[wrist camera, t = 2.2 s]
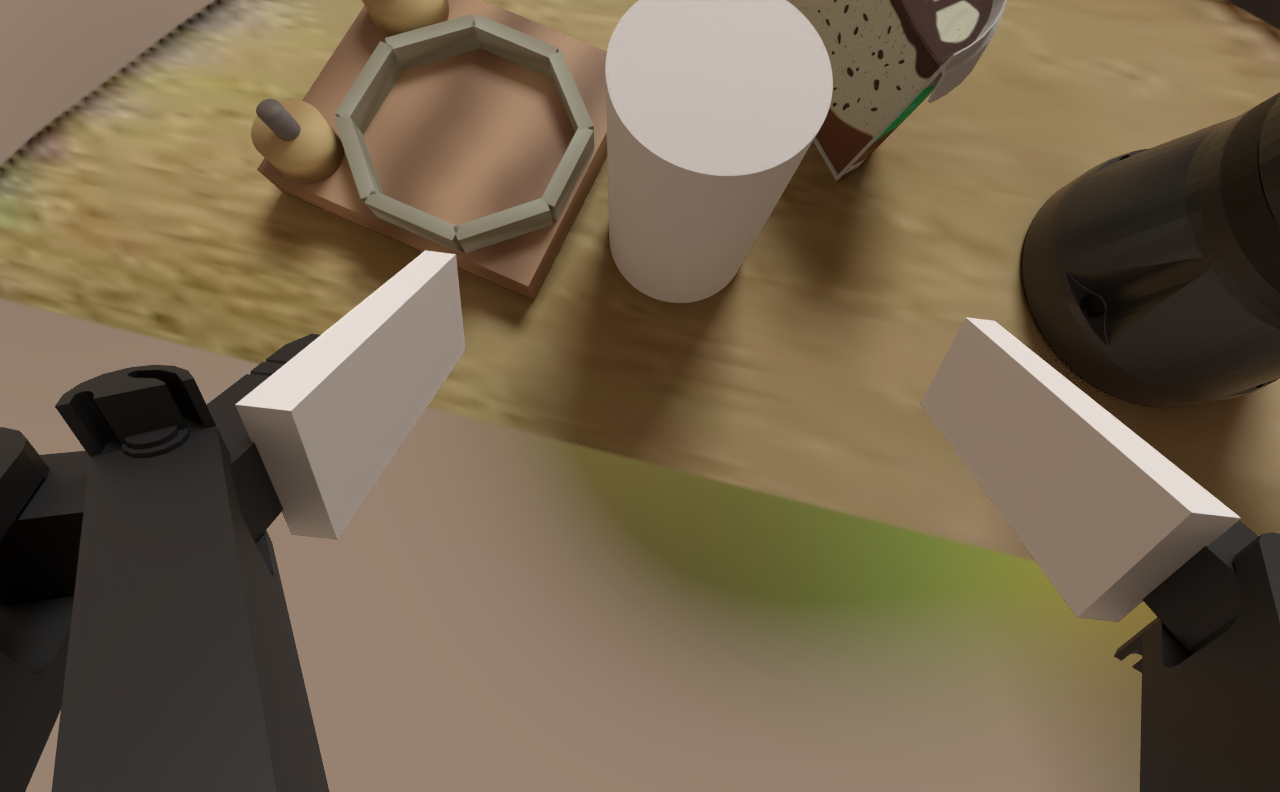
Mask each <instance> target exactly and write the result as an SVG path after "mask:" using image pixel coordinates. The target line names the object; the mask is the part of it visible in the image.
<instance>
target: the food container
mask: <svg viewBox="0 0 1280 792" xmlns="http://www.w3.org/2000/svg"><path fill="white" fill-rule="evenodd" d="M787 1H788V2H790V3H791V4H792V5H793V6H794V7H796V8H797V9H798V10H799V11H800V12H801V13H802V14H803V15H804V16H805V17H806V18H807V19H808V20H809V22H810V23H811V24H812V25H813V27H814V28H815V30H816V31H817V33H818V34H819V36H820V38H821V39H822V41H823V44H824V46H825V48H826V51H827V53H828V56H829V60H830V63H831V68H832V76H833V91H832V99H831V103H830V107H829V110H828V113H827V116H826V118H825V120H824V123H823V124H822V126H821V128H820V130H819V131H818V133H817V135H816V137H815V138H814V140H813V142H814V144H815V145H816V147H817V149H818V150H819V152H820V154H821V156H822V157H823V159H824V161H825V162H826V164H827V166H828V168H829V169H830V171H831V173H832V174H833V176H834V178H835V179H836V181H838V180H840V179H842V178H844V177H846V176H848V175H849V174H851V173H852V172H853V171H854V170H855V169H856V168H857V167H858V166H859V165H860V164H861V163H862V162H863V161H864V160H865V159H866V158H867V157H868V156H869V155H870V154H871V153H872V152H873V151H874V150H875V149H876V148H877V147H878V146H879V145H880V144H881V143H882V142H883V141H884V140H885V139H886V138H887V137H888V136H889V135H890V134H891V133H892V132H893V131H894V130H895V129H896V128H897V127H898V126H899V125H900V124H901V123H902V122H903V121H904V120H905V119H906V118H907V117H908V116H909V115H910V114H911V113H912V112H913V111H914V110H915V109H916V108H917V107H918V106H919V105H920V104H921V103H922V102H923V101H924V100H925V99H926V98H927V97H928V96H929V95H930V94H931V93H932V94H931V96H930V98H929V100H928V102H929V103H931V102H933V101H935V100H937V99H939V98H941V97H943V96H944V95H946V94H947V93H949V92H950V91H951V90H953V89H954V88H955V87H957V86H958V85H959V84H960V83H961V82H962V81H963V80H964V79H965V78H966V77H967V76H968V74H969V73H970V72H971V71H972V70H973V68H974V66H975V65H976V63H977V61H978V60H979V58H980V56H981V55H982V53H983V51H984V50H985V48H986V46H987V44H988V43H989V41H990V39H991V38H992V36H993V34H994V32H995V31H996V29H997V27H998V25H999V22H1000V19H1001V16H1002V14H1003V11H1004V7H1005V4H1006V2H1007V0H787Z"/></svg>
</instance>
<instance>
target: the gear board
mask: <svg viewBox="0 0 1280 792" xmlns="http://www.w3.org/2000/svg"><path fill="white" fill-rule="evenodd" d="M362 1H363V3H364V5H365V6H364V7H363V9H362V10H361V12H360V13H359V15H358V16H357V18H356V20H355V21H354V23H353V24H352V26H351V27H350V29H349V30H348V32H347V33H346V35H345V36H344V38H343V39H342V41H341V42H340V44H339V45H338V47H337V49H336V50H335V52H334V53H333V55H332V56H331V58H330V59H329V61H328V62H327V64H326V65H325V67H324V68H323V70H322V71H321V73H320V74H319V76H318V77H317V79H316V81H315V82H314V84H313V85H312V87H311V88H310V90H309V91H308V93H307V94H306V96H305V97H304V99H303V100H302V101H301V100H295V99H288V100H281V101H277V100H274V99H266V100H264V101H262V102H261V103H260V104H259V105H258V106H257V109H256V112H257V115H258V116H257V117H256V119H255V120H254V123H253V125H252V131H251V137H252V141H253V144H254V146H255V148H256V149H257V150H258V152H259V153H261V154H262V155H263V156H264V157H265V158H264V160H263V161H262V163H261V164H260V166H259V167H258V169H257V170H258V171H259V172H260V173H262V174H263V175H264V176H265V177H266V178H267V179H268V180H270V181H271V182H272V183H273V184H274V185H275V186H276V187H278V188H279V189H280V190H281V191H282V192H285V193H287V194H289V195H292V196H294V197H296V198H299V199H301V200H303V201H306V202H308V203H310V204H313V205H315V206H317V207H319V208H322V209H324V210H326V211H329V212H331V213H333V214H336V215H338V216H340V217H343V218H345V219H347V220H350V221H352V222H354V223H357V224H359V225H361V226H364V227H366V228H368V229H371V230H373V231H375V232H377V233H380V234H382V235H384V236H387V237H389V238H391V239H394V240H396V241H398V242H401V243H403V244H405V245H408V246H410V247H412V248H415V249H417V250H419V251H422V252H424V251H434V252H442V253H450V254H456V260H457V267H459V268H461V269H463V270H466V271H468V272H470V273H473V274H475V275H477V276H480V277H482V278H484V279H486V280H489V281H491V282H493V283H496V284H498V285H500V286H503V287H505V288H507V289H510V290H512V291H514V292H517V293H519V294H521V295H524V296H526V297H528V298H531V299H533V300H535V298H536V296H537V294H538V292H539V290H540V288H541V286H542V284H543V282H544V280H545V278H546V276H547V274H548V272H549V270H550V268H551V266H552V264H553V262H554V260H555V258H556V256H557V254H558V252H559V250H560V248H561V246H562V244H563V242H564V240H565V238H566V236H567V234H568V232H569V230H570V228H571V226H572V224H573V222H574V220H575V218H576V216H577V214H578V212H579V210H580V208H581V206H582V204H583V202H584V200H585V198H586V196H587V194H588V192H589V190H590V188H591V186H592V184H593V182H594V180H595V178H596V176H597V174H598V172H599V170H600V168H601V166H602V164H603V162H604V160H605V158H606V156H607V118H606V75H605V64H606V55H607V52H606V51H604V50H601V49H599V48H596V47H594V46H591V45H589V44H587V43H584V42H582V41H579V40H577V39H575V38H572V37H570V36H567V35H565V34H563V33H560V32H558V31H555V30H553V29H551V28H548V27H546V26H543V25H541V24H539V23H536V22H534V21H531V20H529V19H527V18H524V17H522V16H519V15H517V14H515V13H512V12H510V11H507V10H505V9H503V8H500V7H498V6H495V5H493V4H491V3H488V2H486V1H483V0H362Z"/></svg>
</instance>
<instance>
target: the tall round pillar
mask: <svg viewBox="0 0 1280 792" xmlns="http://www.w3.org/2000/svg"><path fill="white" fill-rule="evenodd" d="M605 75H606V118H607V161H608V205H609V242H610V249H611V253H612V257H613V259H614V262H615V264H616V266H617V268H618V269H619V271H620V272H621V274H622V275H623V276H624V278H625V279H626V280H627V281H628V282H629V283H630V284H631V285H632V286H633V287H635V288H636V289H637V290H639V291H640V292H642V293H644V294H645V295H647V296H650V297H652V298H654V299H657V300H660V301H665V302H670V303H690V302H696V301H700V300H703V299H706V298H708V297H710V296H712V295H714V294H716V293H717V292H719V291H720V290H722V289H723V288H724V287H725V286H727V285H728V284H729V282H730V281H731V280H732V279H733V278H734V276H735V275H736V274H737V272H738V270H739V268H740V267H741V265H742V263H743V261H744V260H745V258H746V256H747V254H748V253H749V251H750V249H751V248H752V246H753V244H754V242H755V241H756V239H757V237H758V235H759V234H760V232H761V230H762V228H763V227H764V225H765V223H766V222H767V220H768V218H769V216H770V215H771V213H772V211H773V209H774V208H775V206H776V204H777V202H778V201H779V199H780V197H781V196H782V194H783V192H784V190H785V189H786V187H787V185H788V183H789V182H790V180H791V178H792V176H793V175H794V173H795V171H796V169H797V168H798V166H799V164H800V163H801V161H802V159H803V157H804V156H805V154H806V152H807V150H808V149H809V147H810V145H811V143H812V142H813V140H814V138H815V137H816V135H817V133H818V131H819V130H820V128H821V126H822V124H823V123H824V120H825V118H826V116H827V113H828V110H829V107H830V103H831V99H832V91H833V76H832V68H831V63H830V60H829V56H828V53H827V51H826V48H825V46H824V44H823V41H822V39H821V38H820V36H819V34H818V33H817V31H816V30H815V28H814V27H813V25H812V24H811V23H810V22H809V20H808V19H807V18H806V17H805V16H804V15H803V14H802V13H801V12H800V11H799V10H798V9H797V8H796V7H794V6H793V5H792V4H791V3H790V2H788V1H787V0H638V1H637V2H636V3H635V4H634V5H633V6H632V7H631V8H630V9H629V10H628V11H627V12H626V13H625V15H624V16H623V17H622V19H621V20H620V21H619V23H618V25H617V26H616V28H615V30H614V32H613V34H612V37H611V39H610V42H609V46H608V49H607V55H606V64H605Z"/></svg>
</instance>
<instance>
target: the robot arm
mask: <svg viewBox="0 0 1280 792" xmlns="http://www.w3.org/2000/svg"><path fill="white" fill-rule="evenodd" d="M1022 271H1023V281H1024V288H1025V292H1026V296H1027V300H1028V303H1029V306H1030V309H1031V311H1032V314H1033V316H1034V318H1035V320H1036V323H1037V324H1038V326H1039V328H1040V330H1041V332H1042V333H1043V335H1044V336H1045V338H1046V340H1047V341H1048V342H1049V344H1050V345H1051V347H1052V348H1053V349H1054V350H1055V352H1056V353H1057V354H1058V355H1059V356H1060V357H1061V358H1062V359H1063V360H1064V362H1065V363H1066V364H1068V365H1069V366H1070V367H1071V368H1072V369H1073V370H1074V371H1075V372H1076V373H1078V374H1079V375H1080V376H1081V377H1083V378H1084V379H1085V380H1087V381H1088V382H1090V383H1091V384H1093V385H1094V386H1096V387H1098V388H1099V389H1101V390H1103V391H1105V392H1107V393H1109V394H1111V395H1113V396H1116V397H1118V398H1121V399H1123V400H1126V401H1130V402H1133V403H1137V404H1141V405H1147V406H1153V407H1180V406H1188V405H1195V404H1202V403H1209V402H1216V401H1223V400H1228V399H1232V398H1236V397H1240V396H1243V395H1246V394H1249V393H1252V392H1254V391H1256V390H1258V389H1260V388H1262V387H1264V386H1266V385H1268V384H1270V383H1272V382H1275V381H1276V380H1278V379H1279V378H1280V93H1278V94H1276V95H1274V96H1273V97H1271V98H1269V99H1268V100H1266V101H1264V102H1263V103H1261V104H1259V105H1258V106H1256V107H1254V108H1252V109H1251V110H1249V111H1247V112H1245V113H1244V114H1242V115H1240V116H1238V117H1235V118H1233V119H1230V120H1227V121H1224V122H1221V123H1218V124H1215V125H1213V126H1210V127H1207V128H1204V129H1201V130H1199V131H1196V132H1194V133H1191V134H1188V135H1186V136H1183V137H1180V138H1177V139H1174V140H1172V141H1169V142H1166V143H1164V144H1161V145H1158V146H1156V147H1153V148H1150V149H1143V150H1138V151H1133V152H1130V153H1127V154H1124V155H1120V156H1117V157H1115V158H1112V159H1110V160H1108V161H1105V162H1103V163H1101V164H1099V165H1097V166H1095V167H1094V168H1092V169H1090V170H1089V171H1087V172H1086V173H1084V174H1083V175H1081V176H1080V177H1078V178H1077V179H1075V180H1074V181H1072V182H1071V183H1069V184H1068V185H1066V186H1064V187H1063V188H1062V189H1060V190H1059V191H1057V192H1056V193H1055V194H1054V195H1052V196H1051V197H1050V198H1049V199H1048V200H1047V201H1046V202H1045V204H1044V205H1043V206H1042V207H1041V208H1040V210H1039V211H1038V213H1037V214H1036V216H1035V218H1034V220H1033V221H1032V224H1031V226H1030V228H1029V231H1028V233H1027V236H1026V240H1025V244H1024V250H1023V260H1022ZM465 350H466V349H465V339H464V329H463V319H462V309H461V299H460V290H459V280H458V270H457V260H456V254H450V253H442V252H434V251H424V252H423V253H421V254H420V255H419V256H418V257H416V258H415V259H414V260H413V261H412V262H410V263H409V264H408V265H407V266H405V267H404V268H403V269H402V270H400V271H399V272H398V273H397V274H396V275H394V276H393V277H392V278H391V279H389V280H388V281H387V282H386V283H384V284H383V285H382V286H381V287H380V288H378V289H377V290H376V291H375V292H373V293H372V294H371V295H370V296H368V297H367V298H366V299H365V300H363V301H362V302H361V303H360V304H359V305H357V306H356V307H355V308H354V309H352V310H351V311H350V312H349V313H347V314H346V315H345V316H344V317H343V318H341V319H340V320H339V321H338V322H336V323H335V324H334V325H333V326H331V327H330V328H329V329H328V330H326V331H325V332H324V333H323V334H322V335H317V334H310V335H308V336H305V337H303V338H301V339H298V340H296V341H293V342H291V343H289V344H286V345H284V346H283V347H282V348H280V349H279V350H278V351H277V352H275V353H274V354H273V355H271V356H270V357H269V358H267V359H266V362H262V363H261V364H259V365H258V366H257V367H256V368H254V369H253V370H252V371H251V374H250V375H248V374H247V375H245V376H244V377H242V378H241V379H240V380H238V381H237V382H236V383H234V384H233V385H232V386H231V387H229V388H228V389H227V390H225V391H224V392H223V393H222V394H220V395H219V396H217V397H216V398H215V399H214V400H212V401H211V402H210V403H208V404H207V405H206V403H205V401H204V399H203V397H202V395H201V392H200V390H199V388H198V386H197V384H196V382H195V380H194V378H193V377H192V375H191V374H190V373H189V371H188V370H185V369H181V368H178V367H176V366H164V365H149V366H141V367H131V368H126V369H122V370H118V371H114V372H110V373H106V374H103V375H100V376H98V377H95V378H93V379H90V380H88V381H85V382H83V383H80V384H79V385H77V386H76V387H74V388H73V389H71V390H70V391H68V392H66V393H65V394H64V395H63V396H62V397H61V398H60V400H59V401H58V403H57V404H56V406H55V407H56V409H57V410H58V411H59V413H60V414H61V416H62V417H63V419H64V420H65V421H66V423H67V424H68V426H69V427H70V429H71V430H72V431H73V433H74V434H75V436H76V437H77V439H78V440H79V441H80V443H81V444H82V446H83V447H84V449H85V450H86V451H78V452H68V453H57V454H46V455H39V454H38V453H37V452H36V450H35V449H34V448H33V446H32V445H31V444H30V443H29V441H28V440H27V439H26V438H25V436H24V435H23V434H22V433H21V432H20V431H17V430H12V429H8V428H3V427H1V428H0V792H25V791H26V788H27V786H28V784H29V782H30V779H31V777H32V774H33V772H34V770H35V768H36V765H37V763H38V761H39V758H40V756H41V754H42V751H43V749H44V747H45V745H46V742H47V740H48V738H49V735H50V733H51V731H52V728H53V726H54V724H55V722H56V719H57V717H58V715H59V712H60V710H61V715H60V723H59V732H58V741H57V750H56V758H55V767H54V776H53V786H52V792H329V789H328V784H327V780H326V775H325V771H324V767H323V762H322V758H321V754H320V749H319V745H318V740H317V736H316V732H315V727H314V723H313V719H312V714H311V710H310V706H309V702H308V697H307V693H306V688H305V684H304V679H303V675H302V671H301V666H300V662H299V658H298V654H297V649H296V645H295V640H294V637H293V632H292V627H291V623H290V619H289V614H288V610H287V606H286V601H285V597H284V592H283V588H282V584H281V579H280V575H279V571H278V567H277V562H276V558H275V553H274V549H273V545H272V542H271V540H270V537H269V535H268V533H267V531H266V529H267V528H268V527H269V526H270V525H271V523H272V522H273V521H274V520H275V519H276V517H277V516H278V515H279V514H280V513H281V511H282V513H283V515H284V518H285V520H286V522H287V525H288V527H289V529H290V532H291V534H292V535H299V536H308V537H317V538H328V539H336V540H337V539H338V538H339V536H340V535H341V533H342V532H343V530H344V529H345V527H346V526H347V524H348V523H349V522H350V520H351V518H352V517H353V516H354V514H355V513H356V511H357V510H358V508H359V507H360V505H361V504H362V502H363V501H364V499H365V498H366V496H367V495H368V493H369V492H370V490H371V489H372V488H373V486H374V485H375V483H376V482H377V480H378V478H379V477H380V475H381V474H382V473H383V471H384V470H385V468H386V467H387V465H388V464H389V462H390V461H391V459H392V458H393V456H394V455H395V454H396V452H397V451H398V449H399V448H400V446H401V445H402V443H403V442H404V440H405V439H406V437H407V436H408V434H409V433H410V431H411V430H412V428H413V427H414V425H415V424H416V423H417V421H418V420H419V418H420V416H421V415H422V414H423V412H424V411H425V409H426V408H427V406H428V405H429V403H430V402H431V400H432V399H433V397H434V396H435V394H436V393H437V392H438V390H439V389H440V387H441V386H442V384H443V383H444V381H445V380H446V378H447V377H448V375H449V374H450V372H451V371H452V369H453V368H454V366H455V365H456V363H457V362H458V360H459V359H460V358H461V356H462V355H463V353H464V352H465ZM920 405H921V406H922V407H923V409H924V410H925V411H926V413H927V414H928V415H929V417H930V418H931V420H932V421H933V422H934V424H935V425H936V426H937V428H938V429H939V430H940V432H941V433H942V435H943V436H944V437H945V439H946V440H947V441H948V443H949V444H950V445H951V447H952V448H953V449H954V451H955V452H956V454H957V455H958V456H959V458H960V459H961V460H962V462H963V463H964V464H965V466H966V467H967V468H968V470H969V471H970V473H971V474H972V475H973V477H974V478H975V479H976V481H977V482H978V483H979V485H980V486H981V487H982V489H983V490H984V492H985V493H986V494H987V496H988V497H989V498H990V500H991V501H992V502H993V504H994V505H995V506H996V508H997V509H998V511H999V512H1000V513H1001V515H1002V516H1003V517H1004V519H1005V520H1006V521H1007V523H1008V524H1009V525H1010V527H1011V528H1012V530H1013V531H1014V532H1015V534H1016V535H1017V536H1018V538H1019V539H1020V540H1021V542H1022V543H1023V544H1024V546H1025V547H1026V549H1027V550H1028V551H1029V553H1030V554H1031V555H1032V557H1033V558H1034V559H1035V561H1036V562H1037V563H1038V565H1039V566H1040V567H1041V569H1042V570H1043V572H1044V573H1045V574H1046V576H1047V577H1048V578H1049V580H1050V581H1051V582H1052V584H1053V585H1054V587H1055V588H1056V589H1057V591H1058V592H1059V593H1060V595H1061V596H1062V597H1063V599H1064V600H1065V601H1066V603H1067V604H1068V606H1069V607H1070V608H1071V610H1072V611H1073V612H1074V614H1075V615H1076V616H1077V617H1078V618H1087V619H1097V620H1106V621H1115V622H1119V621H1120V620H1121V619H1122V618H1123V617H1125V616H1126V615H1127V614H1128V613H1130V611H1132V610H1133V609H1134V608H1135V607H1137V606H1138V605H1139V604H1140V603H1141V602H1143V601H1144V602H1145V603H1146V604H1147V605H1148V606H1149V608H1150V609H1151V610H1152V611H1153V612H1154V613H1155V614H1156V616H1157V618H1156V619H1155V620H1154V621H1152V622H1151V623H1150V624H1148V625H1147V626H1146V627H1145V628H1143V629H1142V630H1141V631H1140V632H1139V633H1137V634H1136V635H1135V636H1133V637H1132V638H1131V639H1130V640H1128V641H1127V642H1126V643H1125V644H1123V645H1122V646H1121V647H1120V648H1118V649H1117V651H1116V653H1115V655H1114V657H1116V658H1118V659H1120V660H1123V659H1124V658H1126V657H1127V656H1128V655H1129V654H1133V653H1137V654H1140V655H1142V659H1141V660H1140V661H1139V662H1137V663H1136V664H1135V665H1133V668H1135V669H1137V670H1138V671H1140V672H1141V673H1142V706H1141V762H1140V792H1280V534H1276V533H1267V534H1262V535H1260V536H1257V535H1256V534H1255V533H1254V532H1252V531H1251V530H1250V529H1249V528H1247V527H1246V526H1245V525H1244V524H1242V523H1241V522H1240V521H1239V520H1240V519H1241V518H1240V517H1239V516H1238V515H1237V514H1235V513H1234V512H1233V511H1232V510H1230V509H1229V508H1228V507H1227V506H1225V505H1224V504H1223V503H1222V502H1220V501H1219V500H1218V499H1217V498H1215V497H1214V496H1213V495H1212V494H1210V493H1209V492H1208V491H1207V490H1205V489H1204V488H1203V487H1202V486H1200V485H1199V484H1198V483H1197V482H1195V481H1194V480H1193V479H1192V478H1190V477H1189V476H1188V475H1187V474H1185V473H1184V472H1183V471H1182V470H1180V469H1179V468H1178V467H1177V466H1175V465H1174V464H1173V463H1172V462H1170V461H1169V460H1168V459H1167V458H1165V457H1164V456H1163V455H1162V454H1160V453H1159V452H1158V451H1157V450H1155V449H1154V448H1153V447H1152V446H1150V445H1149V444H1148V443H1147V442H1145V441H1144V440H1143V439H1142V438H1140V437H1139V436H1138V435H1137V434H1135V433H1134V432H1133V431H1132V430H1130V429H1129V428H1128V427H1127V426H1125V425H1124V424H1123V423H1122V422H1120V421H1119V420H1118V419H1117V418H1115V417H1114V416H1113V415H1112V414H1110V413H1109V412H1108V411H1107V410H1105V409H1104V408H1103V407H1102V406H1100V405H1099V404H1098V403H1097V402H1095V401H1094V400H1093V399H1092V398H1090V397H1089V396H1088V395H1087V394H1085V393H1084V392H1083V391H1082V390H1080V389H1079V388H1078V387H1077V386H1075V385H1074V384H1073V383H1072V382H1070V381H1069V380H1068V379H1067V378H1065V377H1064V376H1063V375H1062V374H1060V373H1059V372H1058V371H1057V370H1055V369H1054V368H1053V367H1052V366H1050V365H1049V364H1048V363H1047V362H1045V361H1044V360H1043V359H1042V358H1040V357H1039V356H1038V355H1037V354H1035V353H1034V352H1033V351H1032V350H1030V349H1029V348H1028V347H1027V346H1025V345H1024V344H1023V343H1022V342H1020V341H1019V340H1018V339H1017V338H1015V337H1014V336H1013V335H1012V334H1010V333H1009V332H1008V331H1007V330H1005V329H1004V328H1003V327H1002V326H1000V325H999V324H998V323H997V322H995V321H991V320H983V319H975V318H967V317H966V318H965V320H964V322H963V324H962V326H961V328H960V329H959V331H958V333H957V335H956V337H955V339H954V341H953V342H952V344H951V346H950V348H949V350H948V352H947V354H946V356H945V357H944V359H943V361H942V363H941V365H940V367H939V369H938V370H937V372H936V374H935V376H934V378H933V380H932V382H931V383H930V385H929V387H928V389H927V391H926V393H925V395H924V397H923V398H922V400H921V402H920Z"/></svg>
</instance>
